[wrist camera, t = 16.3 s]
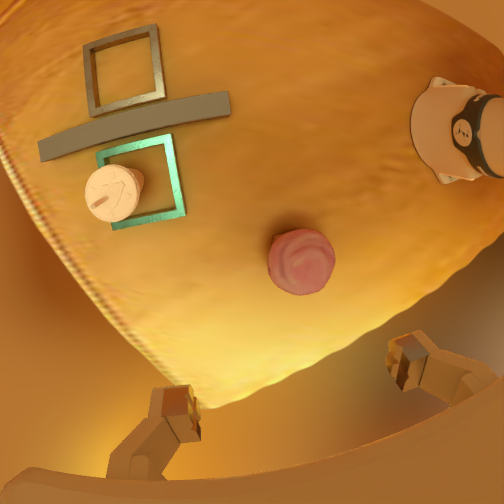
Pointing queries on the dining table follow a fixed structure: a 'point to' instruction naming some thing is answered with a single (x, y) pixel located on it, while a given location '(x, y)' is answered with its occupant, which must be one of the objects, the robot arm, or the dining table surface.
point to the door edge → (135, 123)
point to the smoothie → (113, 192)
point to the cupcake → (300, 261)
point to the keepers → (159, 94)
